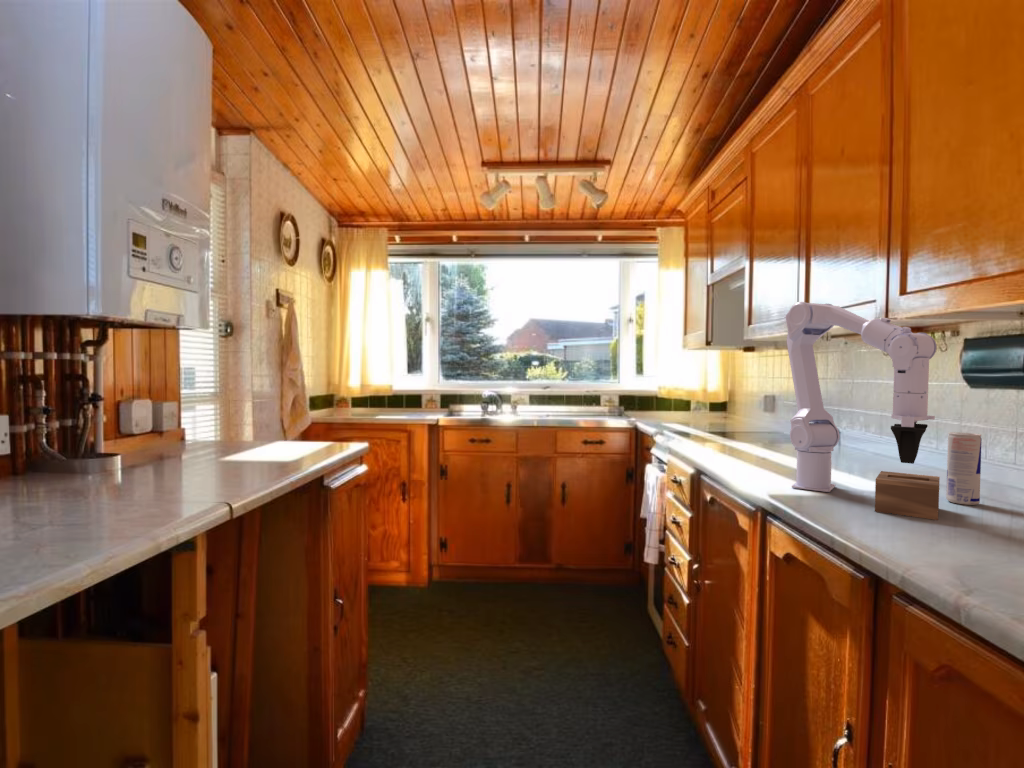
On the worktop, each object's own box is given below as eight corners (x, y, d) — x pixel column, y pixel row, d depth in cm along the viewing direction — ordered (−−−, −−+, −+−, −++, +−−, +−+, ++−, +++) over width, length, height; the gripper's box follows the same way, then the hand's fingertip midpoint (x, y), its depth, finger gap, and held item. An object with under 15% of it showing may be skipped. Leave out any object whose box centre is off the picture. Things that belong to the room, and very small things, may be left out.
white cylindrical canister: (985, 506, 118) (987, 434, 118) (955, 505, 120) (957, 433, 119) (969, 500, 124) (972, 432, 124) (940, 499, 125) (942, 431, 125)
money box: (880, 501, 122) (881, 470, 122) (938, 508, 116) (939, 476, 116) (874, 511, 113) (875, 478, 113) (937, 520, 107) (938, 485, 107)
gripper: (934, 394, 106) (932, 467, 106) (936, 392, 117) (934, 458, 118) (889, 393, 110) (887, 463, 110) (894, 391, 122) (893, 455, 122)
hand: (908, 460), depth 114 cm, fingers open, 7 cm apart
